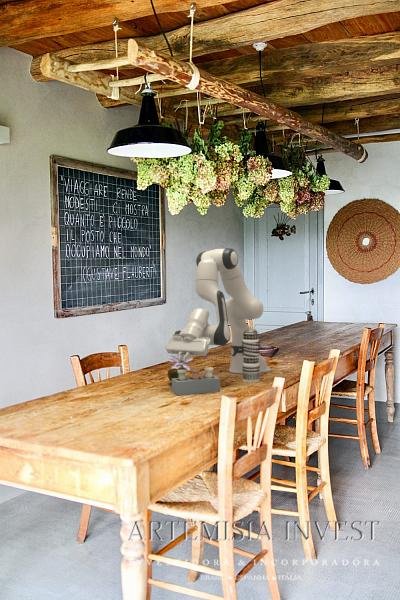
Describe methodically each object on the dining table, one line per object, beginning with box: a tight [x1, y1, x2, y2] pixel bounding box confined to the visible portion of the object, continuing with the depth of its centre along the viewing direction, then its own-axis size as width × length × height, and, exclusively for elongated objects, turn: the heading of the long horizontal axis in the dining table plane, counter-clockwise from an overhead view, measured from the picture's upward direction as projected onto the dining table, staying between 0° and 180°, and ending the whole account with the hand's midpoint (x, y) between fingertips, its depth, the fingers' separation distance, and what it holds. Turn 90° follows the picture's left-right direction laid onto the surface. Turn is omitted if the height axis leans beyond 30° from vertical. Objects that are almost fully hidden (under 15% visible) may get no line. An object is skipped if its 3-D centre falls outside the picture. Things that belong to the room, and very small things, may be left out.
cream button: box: [203, 366, 214, 379], centre depth 282 cm, size 4×4×7 cm
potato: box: [167, 367, 180, 382], centre depth 298 cm, size 8×13×8 cm, turn 147°
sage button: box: [178, 368, 187, 381], centre depth 277 cm, size 4×4×7 cm
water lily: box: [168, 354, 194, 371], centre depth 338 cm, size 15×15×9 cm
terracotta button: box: [190, 367, 201, 380], centre depth 279 cm, size 4×4×7 cm
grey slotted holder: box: [171, 374, 221, 396], centre depth 280 cm, size 20×9×6 cm, turn 111°
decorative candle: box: [242, 328, 261, 383], centre depth 303 cm, size 9×9×25 cm
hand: (181, 361), depth 277 cm, fingers closed
